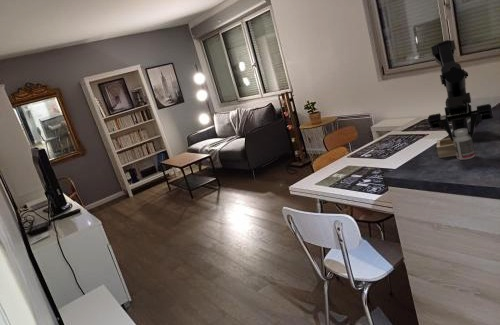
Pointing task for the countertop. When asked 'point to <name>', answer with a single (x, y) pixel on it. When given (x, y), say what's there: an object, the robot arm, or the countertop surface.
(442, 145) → the birch socket stand
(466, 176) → the countertop surface
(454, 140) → the pill bottle
